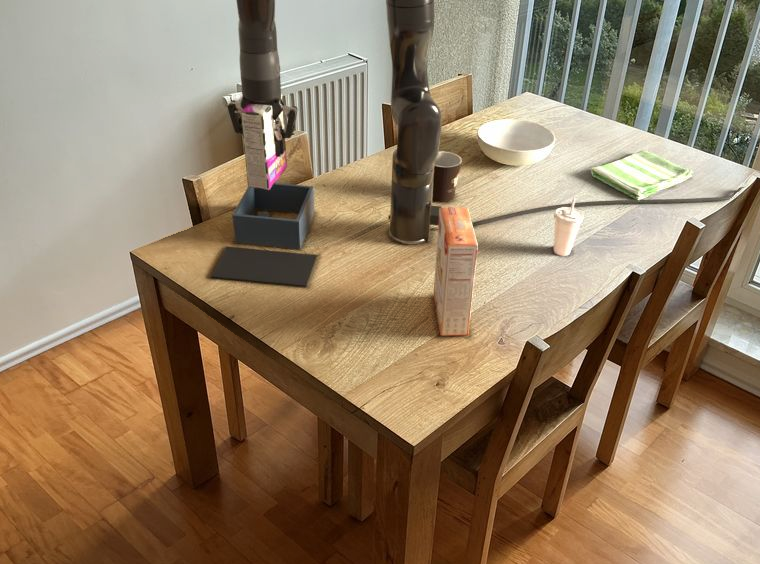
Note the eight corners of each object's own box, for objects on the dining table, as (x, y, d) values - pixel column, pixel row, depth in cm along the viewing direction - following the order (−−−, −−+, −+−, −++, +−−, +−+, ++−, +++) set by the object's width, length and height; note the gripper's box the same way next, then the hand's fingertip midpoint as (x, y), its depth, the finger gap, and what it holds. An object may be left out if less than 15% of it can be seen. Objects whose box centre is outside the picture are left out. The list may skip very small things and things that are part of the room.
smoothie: (558, 261, 179) (569, 205, 171) (542, 247, 184) (552, 192, 175) (581, 255, 182) (593, 200, 173) (565, 241, 186) (575, 187, 178)
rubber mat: (317, 256, 175) (317, 255, 175) (306, 287, 166) (306, 285, 166) (226, 247, 176) (226, 246, 176) (210, 278, 167) (210, 276, 166)
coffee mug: (439, 208, 195) (442, 170, 189) (416, 194, 200) (418, 157, 194) (473, 195, 202) (478, 158, 195) (450, 182, 207) (454, 145, 200)
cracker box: (431, 295, 166) (438, 205, 153) (460, 295, 167) (469, 205, 154) (438, 337, 155) (446, 243, 142) (468, 336, 156) (479, 244, 143)
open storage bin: (314, 213, 190) (313, 186, 186) (300, 249, 177) (299, 221, 173) (253, 207, 191) (251, 180, 186) (234, 243, 178) (232, 215, 173)
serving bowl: (500, 135, 231) (502, 112, 227) (564, 156, 222) (568, 133, 218) (460, 158, 218) (462, 134, 213) (527, 182, 209) (530, 158, 204)
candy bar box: (265, 164, 173) (260, 90, 163) (287, 168, 173) (284, 93, 162) (245, 187, 165) (239, 110, 154) (269, 191, 164) (264, 114, 154)
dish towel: (693, 179, 216) (696, 169, 214) (638, 202, 204) (641, 192, 202) (640, 154, 226) (642, 145, 224) (585, 175, 214) (587, 166, 212)
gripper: (217, 75, 152) (226, 158, 163) (292, 82, 151) (296, 165, 162) (229, 61, 158) (236, 143, 169) (301, 68, 157) (304, 149, 168)
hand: (265, 153), depth 165 cm, fingers closed on candy bar box, 5 cm apart
